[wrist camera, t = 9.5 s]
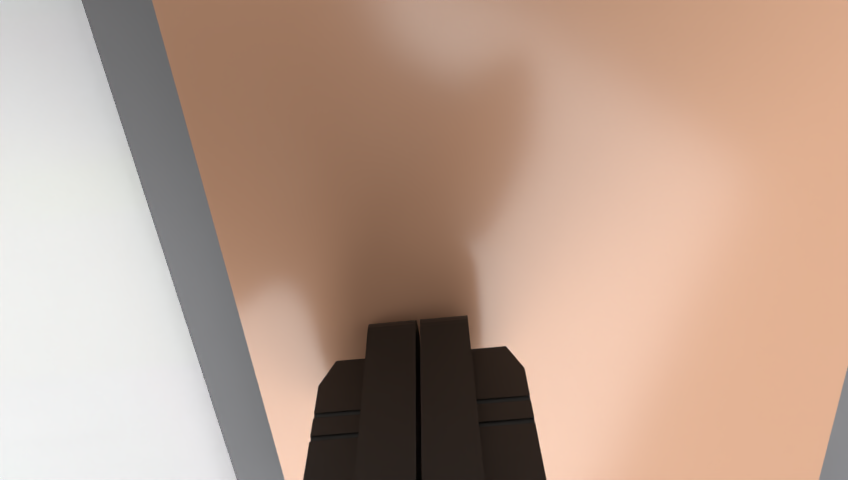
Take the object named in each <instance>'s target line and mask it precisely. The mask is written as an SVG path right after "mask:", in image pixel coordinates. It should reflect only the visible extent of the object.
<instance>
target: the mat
mask: <svg viewBox="0 0 848 480" xmlns="http://www.w3.org/2000/svg"><path fill="white" fill-rule="evenodd" d="M82 3H83V6H84V9H85V12H86V15H87V18H88V21H89V24H90V27H91V30H92V33H93V36H94V40H95V43H96V46H97V49H98V52H99V55H100V58H101V61H102V64H103V67H104V70H105V73H106V77H107V80H108V83H109V86H110V89H111V92H112V95H113V98H114V101H115V104H116V107H117V110H118V114H119V117H120V120H121V123H122V126H123V129H124V132H125V135H126V138H127V141H128V144H129V147H130V151H131V154H132V157H133V160H134V163H135V166H136V169H137V172H138V175H139V178H140V181H141V185H142V188H143V191H144V194H145V197H146V200H147V203H148V206H149V209H150V212H151V215H152V218H153V222H154V225H155V228H156V231H157V234H158V237H159V240H160V243H161V246H162V249H163V252H164V255H165V259H166V262H167V265H168V268H169V271H170V274H171V277H172V280H173V283H174V286H175V289H176V292H177V296H178V299H179V302H180V305H181V308H182V311H183V314H184V317H185V320H186V323H187V326H188V329H189V333H190V336H191V339H192V342H193V345H194V348H195V351H196V354H197V357H198V360H199V363H200V367H201V370H202V373H203V376H204V379H205V382H206V385H207V388H208V391H209V394H210V397H211V400H212V404H213V407H214V410H215V413H216V416H217V419H218V422H219V425H220V428H221V431H222V434H223V437H224V441H225V444H226V447H227V450H228V453H229V456H230V459H231V462H232V465H233V468H234V471H235V474H236V478H237V480H285V479H284V475H283V472H282V468H281V465H280V461H279V457H278V454H277V450H276V447H275V443H274V439H273V436H272V432H271V428H270V425H269V421H268V418H267V414H266V410H265V407H264V403H263V400H262V396H261V392H260V389H259V385H258V382H257V378H256V374H255V371H254V367H253V363H252V360H251V356H250V353H249V349H248V345H247V342H246V338H245V335H244V331H243V327H242V324H241V320H240V317H239V313H238V309H237V306H236V302H235V298H234V295H233V291H232V288H231V284H230V280H229V277H228V273H227V270H226V266H225V262H224V259H223V255H222V252H221V248H220V244H219V241H218V237H217V233H216V230H215V226H214V223H213V219H212V215H211V212H210V208H209V205H208V201H207V197H206V194H205V190H204V187H203V183H202V179H201V176H200V172H199V168H198V165H197V161H196V158H195V154H194V150H193V147H192V143H191V140H190V136H189V132H188V129H187V125H186V122H185V118H184V114H183V111H182V107H181V103H180V100H179V96H178V93H177V89H176V85H175V82H174V78H173V75H172V71H171V67H170V64H169V60H168V57H167V53H166V49H165V46H164V42H163V38H162V35H161V31H160V28H159V24H158V20H157V17H156V13H155V10H154V6H153V2H152V0H82ZM819 480H848V367H847V371H846V375H845V379H844V383H843V387H842V391H841V395H840V399H839V403H838V407H837V411H836V414H835V418H834V422H833V426H832V430H831V434H830V438H829V442H828V446H827V450H826V454H825V458H824V462H823V465H822V469H821V473H820V477H819Z"/></svg>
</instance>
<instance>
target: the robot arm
mask: <svg viewBox="0 0 848 480" xmlns="http://www.w3.org/2000/svg"><path fill="white" fill-rule="evenodd" d="M310 438H311V441H310V442H309V447H308V453H307V459H306V465H305V471H304V477H303V480H546V475H545V469H544V464H543V459H542V454H541V449H540V444H539V439H538V434H537V429H536V423H535V420H534V413H533V408H532V403H531V400H530V393H529V388H528V383H527V378H526V372H525V368H524V367H523V366H522V364H521V363H520V362H519V361H518V360H517V358H516V357H515V356H514V355H513V354H512V353H511V351H510V350H509V349H508V348H507V347H506V346H501V347H489V348H477V349H471V344H470V334H469V325H468V316H467V315H465V316H454V317H442V318H431V319H420V338H419V330H418V324H417V320H410V321H399V322H388V323H376V324H369V325H368V331H367V342H366V354H365V358H364V359H352V360H341V361H336V362H335V363H334V365H333V366H332V367H331V369H330V370H329V372H328V373H327V374H326V376H325V377H324V379H323V380H322V381H321V383H320V384H319V386H318V391H317V397H316V404H315V410H314V419H313V422H312V428H311V434H310Z"/></svg>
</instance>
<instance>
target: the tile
mask: <svg viewBox="0 0 848 480" xmlns="http://www.w3.org/2000/svg"><path fill="white" fill-rule="evenodd" d="M152 2H153V6H154V10H155V13H156V17H157V20H158V24H159V28H160V31H161V35H162V38H163V42H164V46H165V49H166V53H167V57H168V60H169V64H170V67H171V71H172V75H173V78H174V82H175V85H176V89H177V93H178V96H179V100H180V103H181V107H182V111H183V114H184V118H185V122H186V125H187V129H188V132H189V136H190V140H191V143H192V147H193V150H194V154H195V158H196V161H197V165H198V168H199V172H200V176H201V179H202V183H203V187H204V190H205V194H206V197H207V201H208V205H209V208H210V212H211V215H212V219H213V223H214V226H215V230H216V233H217V237H218V241H219V244H220V248H221V252H222V255H223V259H224V262H225V266H226V270H227V273H228V277H229V280H230V284H231V288H232V291H233V295H234V298H235V302H236V306H237V309H238V313H239V317H240V320H241V324H242V327H243V331H244V335H245V338H246V342H247V345H248V349H249V353H250V356H251V360H252V363H253V367H254V371H255V374H256V378H257V382H258V385H259V389H260V392H261V396H262V400H263V403H264V407H265V410H266V414H267V418H268V421H269V425H270V428H271V432H272V436H273V439H274V443H275V447H276V450H277V454H278V457H279V461H280V465H281V468H282V472H283V475H284V479H285V480H303V477H304V471H305V465H306V459H307V453H308V447H309V442H310V441H311V438H310V434H311V428H312V422H313V419H314V410H315V404H316V397H317V391H318V386H319V384H320V383H321V381H322V380H323V379H324V377H325V376H326V374H327V373H328V372H329V370H330V369H331V367H332V366H333V365H334V363H335V362H336V361H341V360H352V359H364V358H365V354H366V342H367V331H368V325H369V324H376V323H388V322H399V321H410V320H417V324H418V330H419V338H420V319H431V318H442V317H454V316H465V315H467V316H468V325H469V334H470V344H471V349H477V348H489V347H501V346H506V347H507V348H508V349H509V350H510V351H511V353H512V354H513V355H514V356H515V357H516V358H517V360H518V361H519V362H520V363H521V364H522V366H523V367H524V368H525V372H526V378H527V383H528V388H529V393H530V400H531V403H532V408H533V413H534V420H535V423H536V429H537V434H538V439H539V444H540V449H541V454H542V459H543V464H544V469H545V475H546V480H819V477H820V473H821V469H822V465H823V462H824V458H825V454H826V450H827V446H828V442H829V438H830V434H831V430H832V426H833V422H834V418H835V414H836V411H837V407H838V403H839V399H840V395H841V391H842V387H843V383H844V379H845V375H846V371H847V367H848V0H152Z"/></svg>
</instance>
